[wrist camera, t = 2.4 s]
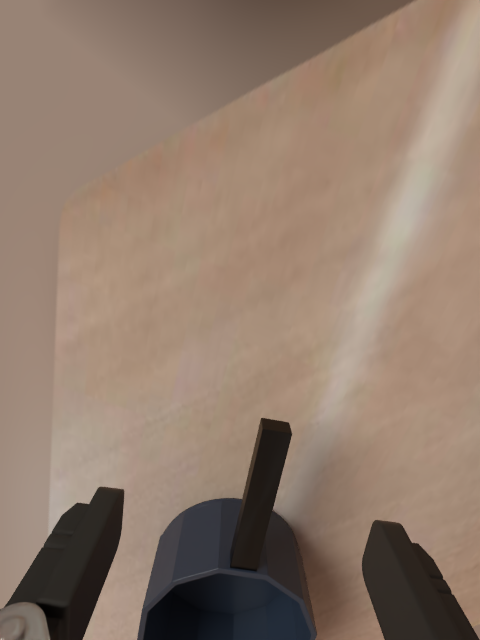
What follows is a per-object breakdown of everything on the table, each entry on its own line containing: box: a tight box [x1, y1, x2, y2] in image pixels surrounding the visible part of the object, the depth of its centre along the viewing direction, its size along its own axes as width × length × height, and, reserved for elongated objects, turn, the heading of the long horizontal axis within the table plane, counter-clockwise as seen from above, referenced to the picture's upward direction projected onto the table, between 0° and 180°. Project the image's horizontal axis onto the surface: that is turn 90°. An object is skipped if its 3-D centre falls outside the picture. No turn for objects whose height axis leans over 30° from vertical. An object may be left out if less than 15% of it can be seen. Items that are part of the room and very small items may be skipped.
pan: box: [137, 418, 317, 640], centre depth 33 cm, size 15×28×8 cm, turn 169°
